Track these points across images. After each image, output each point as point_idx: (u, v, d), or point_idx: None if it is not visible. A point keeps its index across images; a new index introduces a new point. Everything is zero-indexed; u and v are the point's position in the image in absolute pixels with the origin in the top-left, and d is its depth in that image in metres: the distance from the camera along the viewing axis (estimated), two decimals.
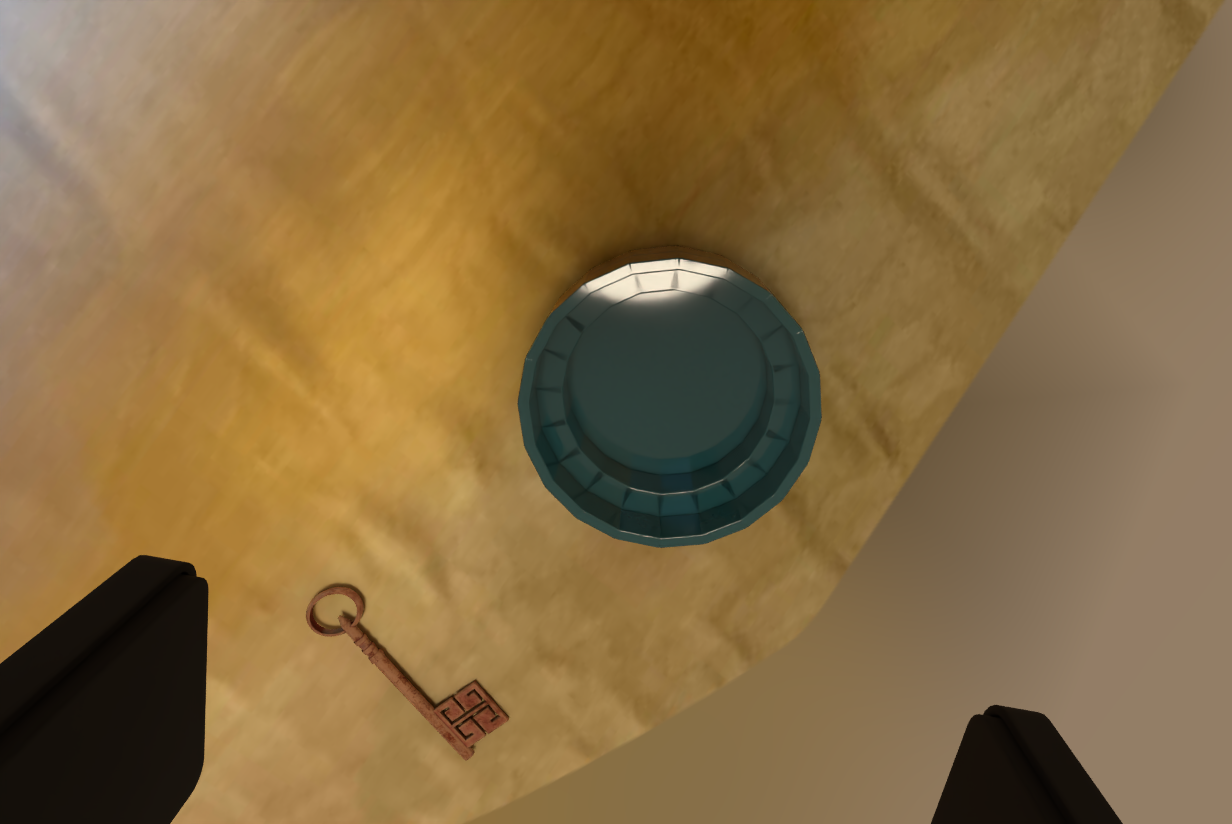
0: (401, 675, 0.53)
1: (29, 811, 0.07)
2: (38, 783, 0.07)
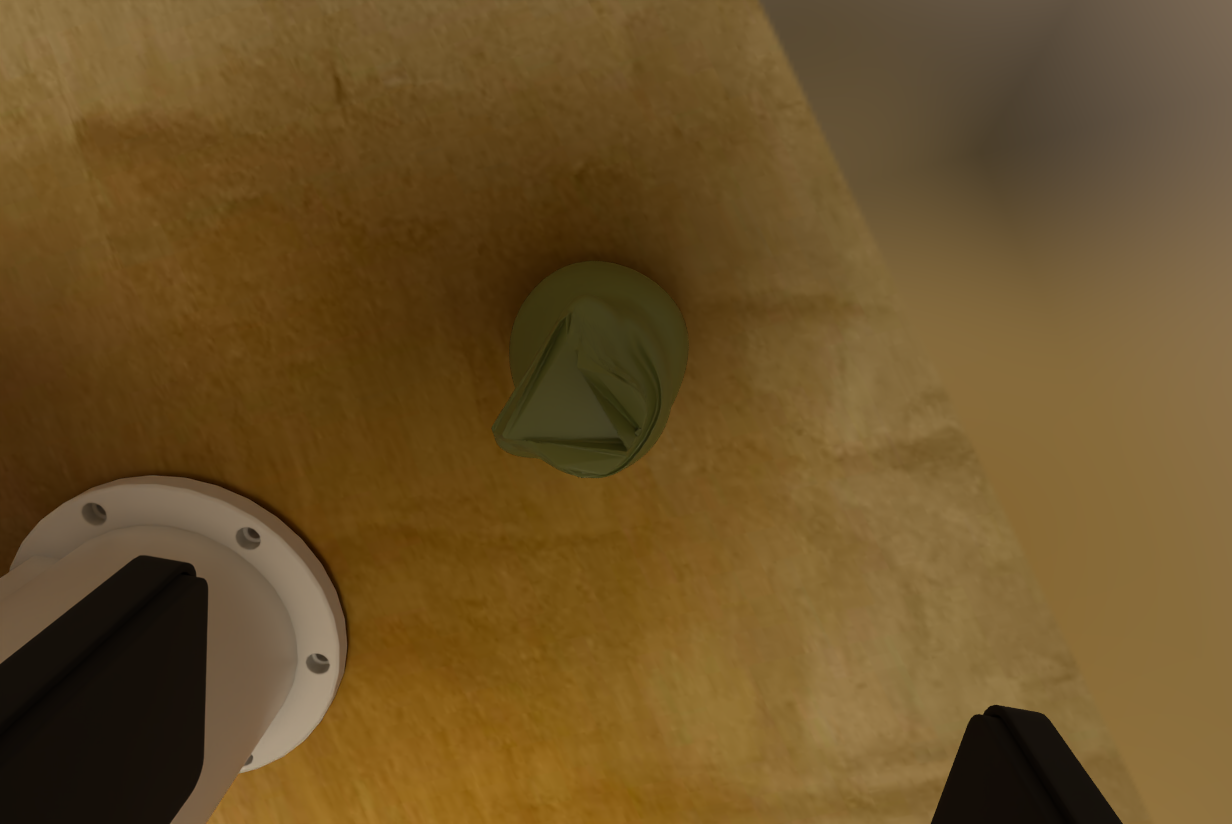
0: None
1: (29, 811, 0.07)
2: (37, 783, 0.07)
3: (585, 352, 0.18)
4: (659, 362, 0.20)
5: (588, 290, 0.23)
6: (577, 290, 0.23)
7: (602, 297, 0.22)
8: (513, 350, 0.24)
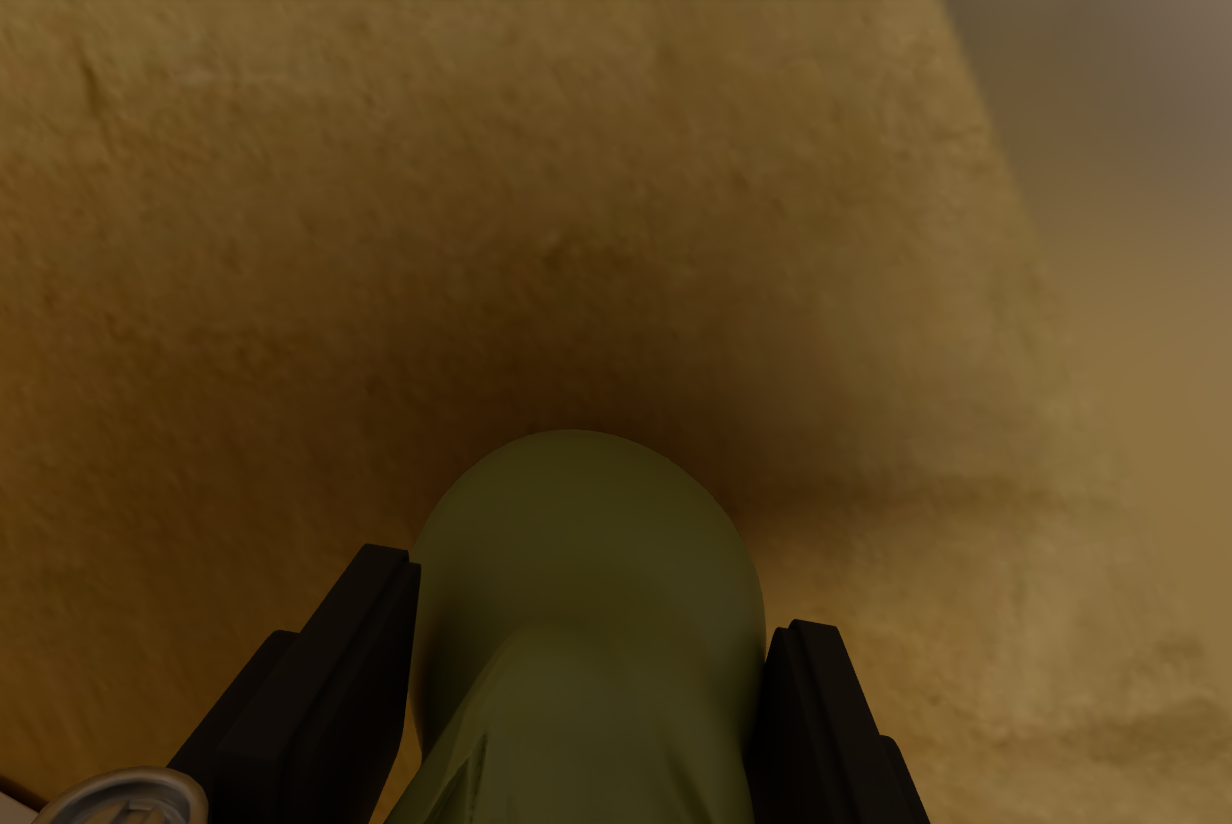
0: None
1: (336, 760, 0.08)
2: (343, 737, 0.08)
3: None
4: (731, 811, 0.07)
5: (552, 535, 0.10)
6: (529, 529, 0.10)
7: (583, 563, 0.10)
8: None
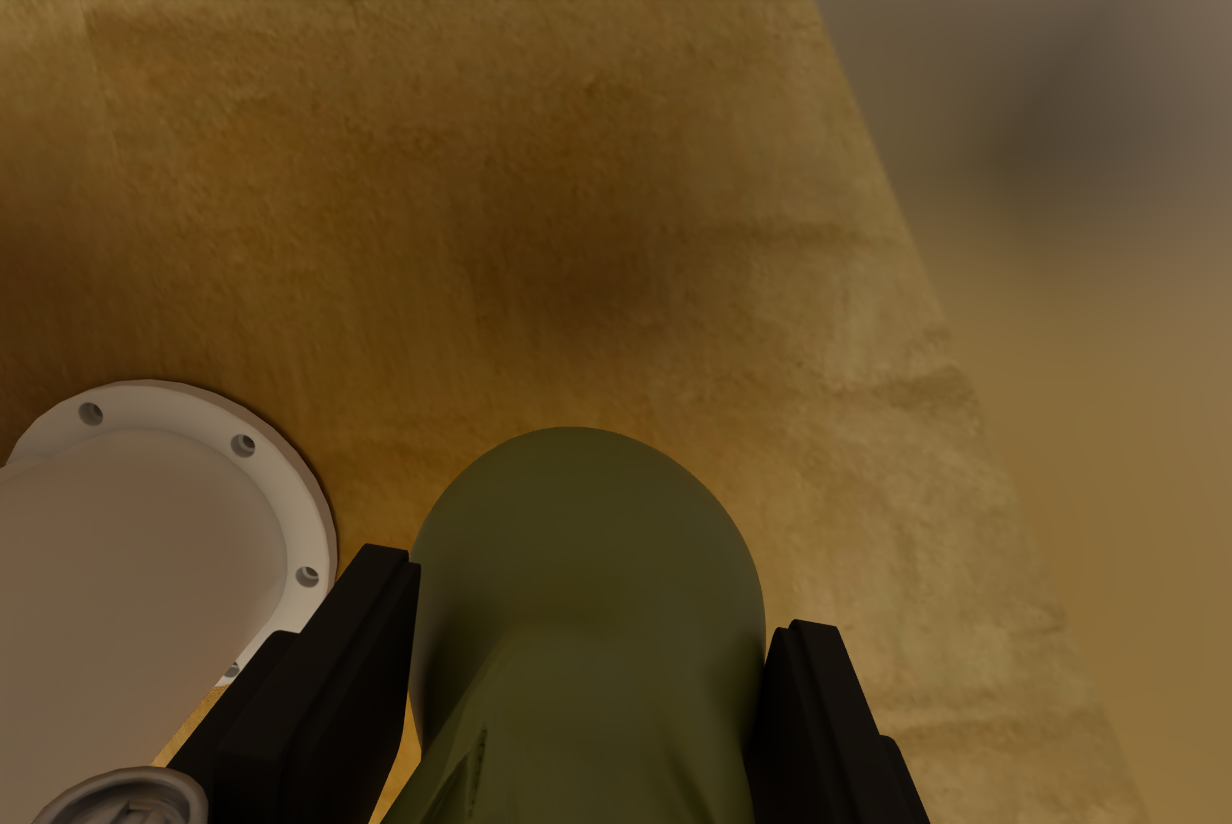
0: None
1: (336, 760, 0.08)
2: (343, 736, 0.08)
3: None
4: (731, 807, 0.07)
5: (552, 532, 0.10)
6: (529, 526, 0.10)
7: (583, 559, 0.10)
8: None
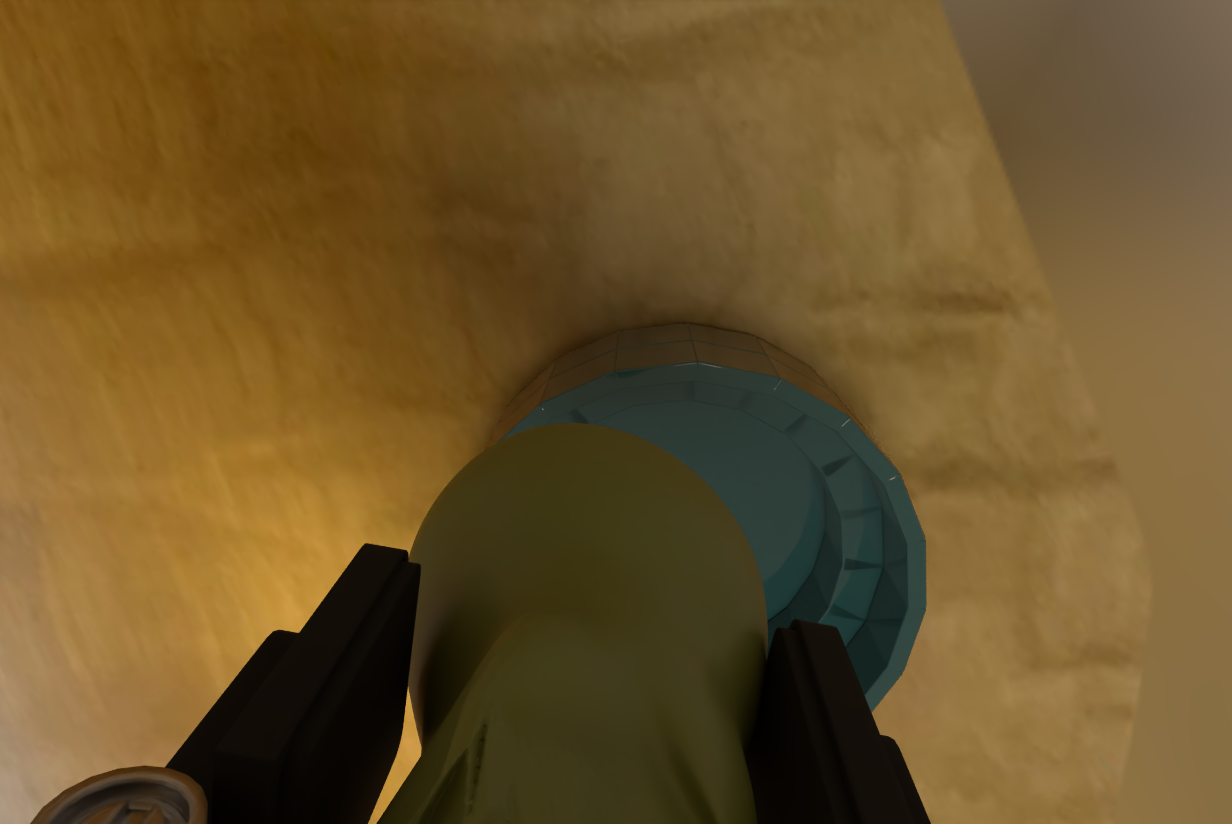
0: None
1: (336, 760, 0.08)
2: (342, 736, 0.08)
3: None
4: (734, 804, 0.07)
5: (552, 527, 0.10)
6: (530, 522, 0.10)
7: (584, 555, 0.10)
8: None
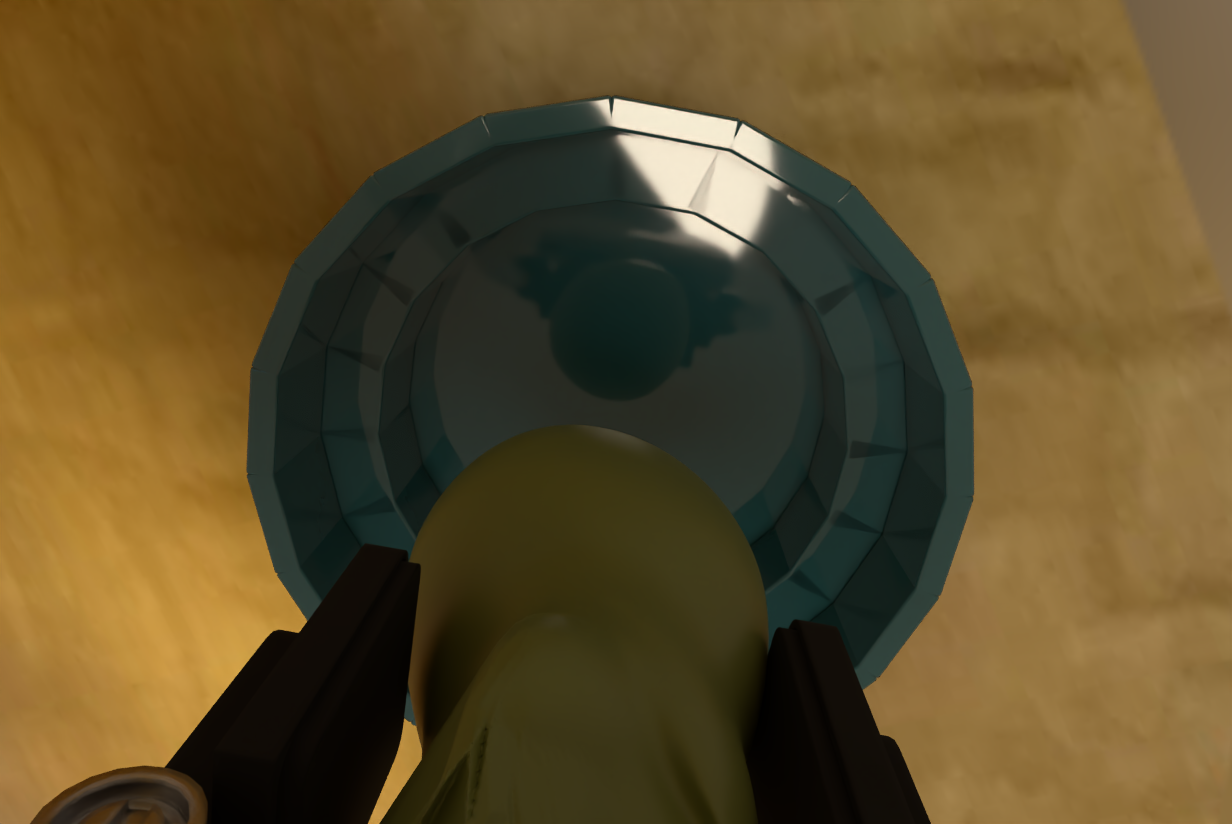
0: None
1: (336, 760, 0.08)
2: (342, 736, 0.08)
3: None
4: (734, 807, 0.07)
5: (553, 530, 0.10)
6: (531, 524, 0.10)
7: (584, 557, 0.10)
8: None
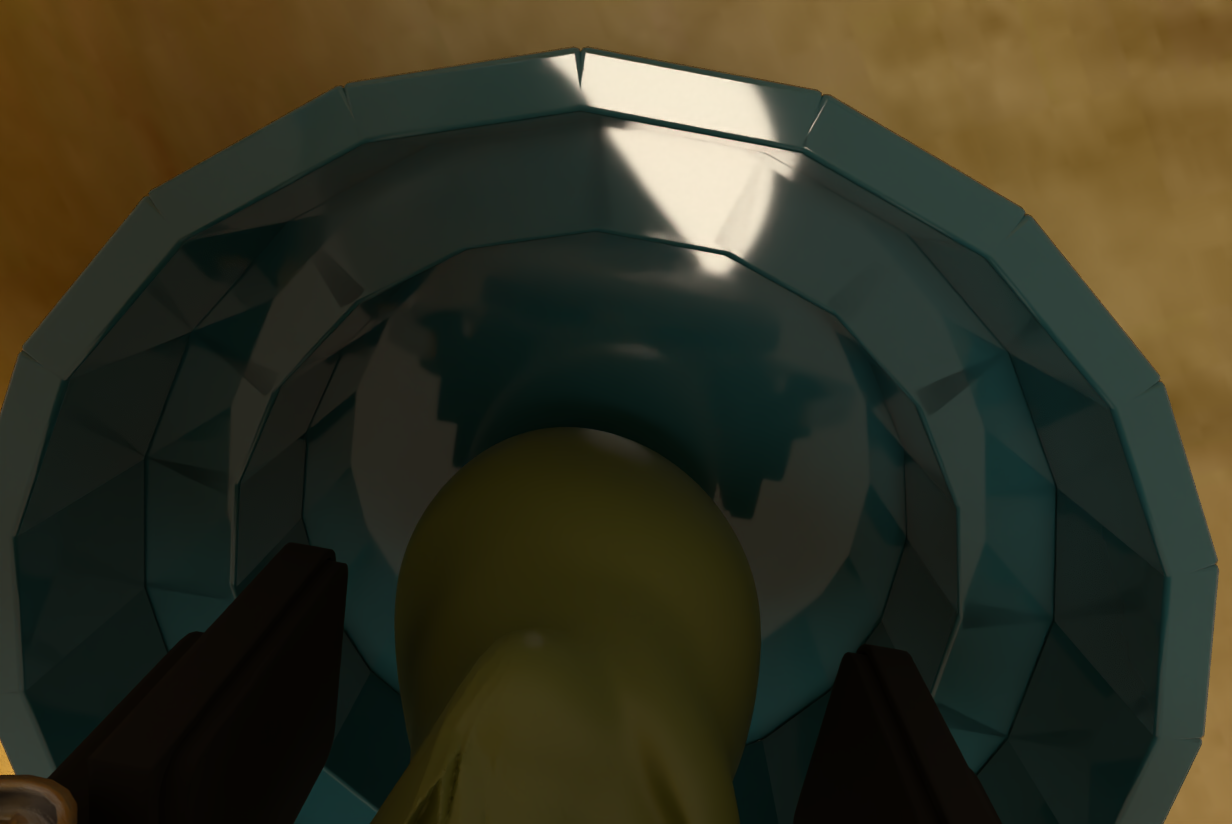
0: None
1: (235, 767, 0.08)
2: (242, 742, 0.08)
3: None
4: None
5: (541, 539, 0.10)
6: (519, 532, 0.10)
7: (572, 568, 0.10)
8: (397, 622, 0.12)
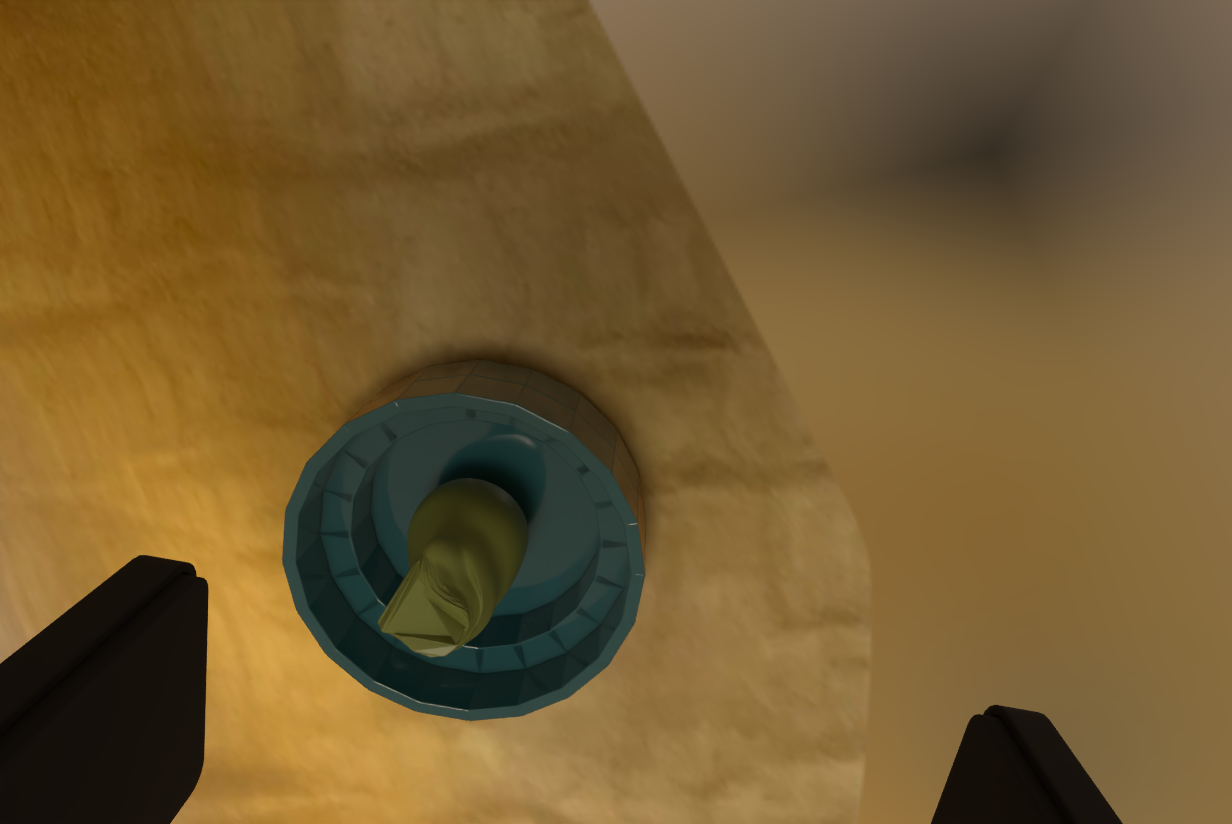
0: None
1: (29, 811, 0.07)
2: (38, 783, 0.07)
3: (429, 585, 0.30)
4: (483, 580, 0.31)
5: (451, 515, 0.34)
6: (445, 513, 0.34)
7: (458, 523, 0.34)
8: (408, 544, 0.36)
